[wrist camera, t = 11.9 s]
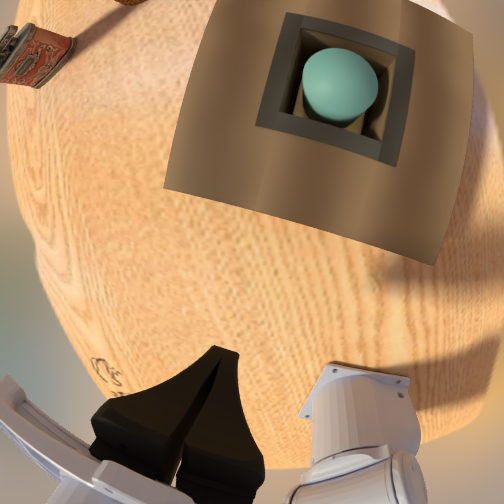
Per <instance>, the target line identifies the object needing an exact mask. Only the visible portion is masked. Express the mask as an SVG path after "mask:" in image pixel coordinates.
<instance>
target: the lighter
mask: <svg viewBox="0 0 504 504" xmlns="http://www.w3.org/2000/svg"><path fill="white" fill-rule="evenodd" d="M17 30H18V26H14V25H10V26H8V27H7V28H6V29H5V30H4V32H3V33H2V34H1V36H0V83H8V84H16V85H24V86H31V87H32V88H35V89H39V88H41V87H42V86H43V85H44V84H45V83H47V82H48V81H49V80H50V79H51V78H52V77H53V76H54V75H55V74H56V73H57V72H58V71H59V70H60V68H61V67H62V66H63V65H64V64H65V63H66V62H67V61H68V59H69V58H70V57H71V56H72V55H73V53H74V52H75V50H76V48H77V45H78V41H77V40H76V39H74V38H72V37H68V38H67V37H65V36H62V35H59V34H57V33H54V32H51V31H48V30H45V29H42V28H39V27H36V26H35V24H32V23H27V24H26V25H25V26H24V27H23V28H22V29H21V30H20V31H19V32H18V33H17V34H16V32H17ZM15 34H16V35H15ZM14 35H15V37H14Z"/></svg>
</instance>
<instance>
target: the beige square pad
mask: <svg viewBox="0 0 504 504" xmlns="http://www.w3.org/2000/svg"><path fill="white" fill-rule="evenodd" d="M365 112H366V111H365ZM365 112H364V113H363V114H361V115H360V116H359V117H358V118H357V119H356V120H355V121H354V122H353V123H352V124H351V125H349V126H347V127H345V128H342V129H345V130H348V131H351V132H354V133H357V134H361V130H362V125H363V121H364V116H365ZM293 115H295V116H299V117H303V118H307V119H310V118H309V117H308V116H307V114H306V112H305V110H304V107H303V76H302V80H301V84H300V88H299V92H298V96H297V100H296V104H295V108H294V112H293Z"/></svg>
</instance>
